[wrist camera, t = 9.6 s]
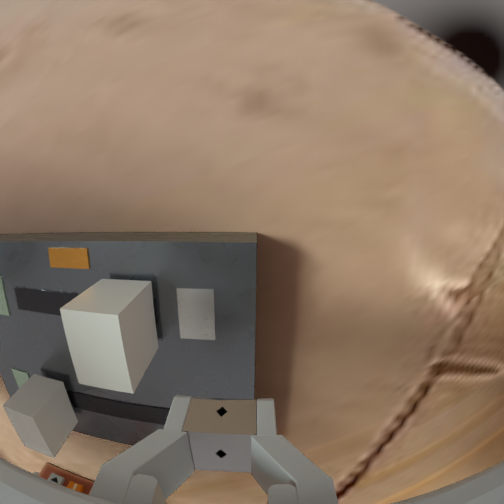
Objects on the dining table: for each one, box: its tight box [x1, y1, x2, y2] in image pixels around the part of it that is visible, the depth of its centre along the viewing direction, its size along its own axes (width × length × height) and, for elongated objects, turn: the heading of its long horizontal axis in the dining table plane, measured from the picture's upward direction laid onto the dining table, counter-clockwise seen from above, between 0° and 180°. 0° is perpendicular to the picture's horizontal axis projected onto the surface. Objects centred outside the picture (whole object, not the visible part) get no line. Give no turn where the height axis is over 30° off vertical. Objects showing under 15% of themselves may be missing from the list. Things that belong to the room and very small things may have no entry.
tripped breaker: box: [60, 279, 159, 394], centre depth 14 cm, size 3×4×4 cm
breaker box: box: [0, 232, 257, 445], centre depth 19 cm, size 22×16×3 cm
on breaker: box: [3, 374, 78, 458], centre depth 16 cm, size 3×4×4 cm
